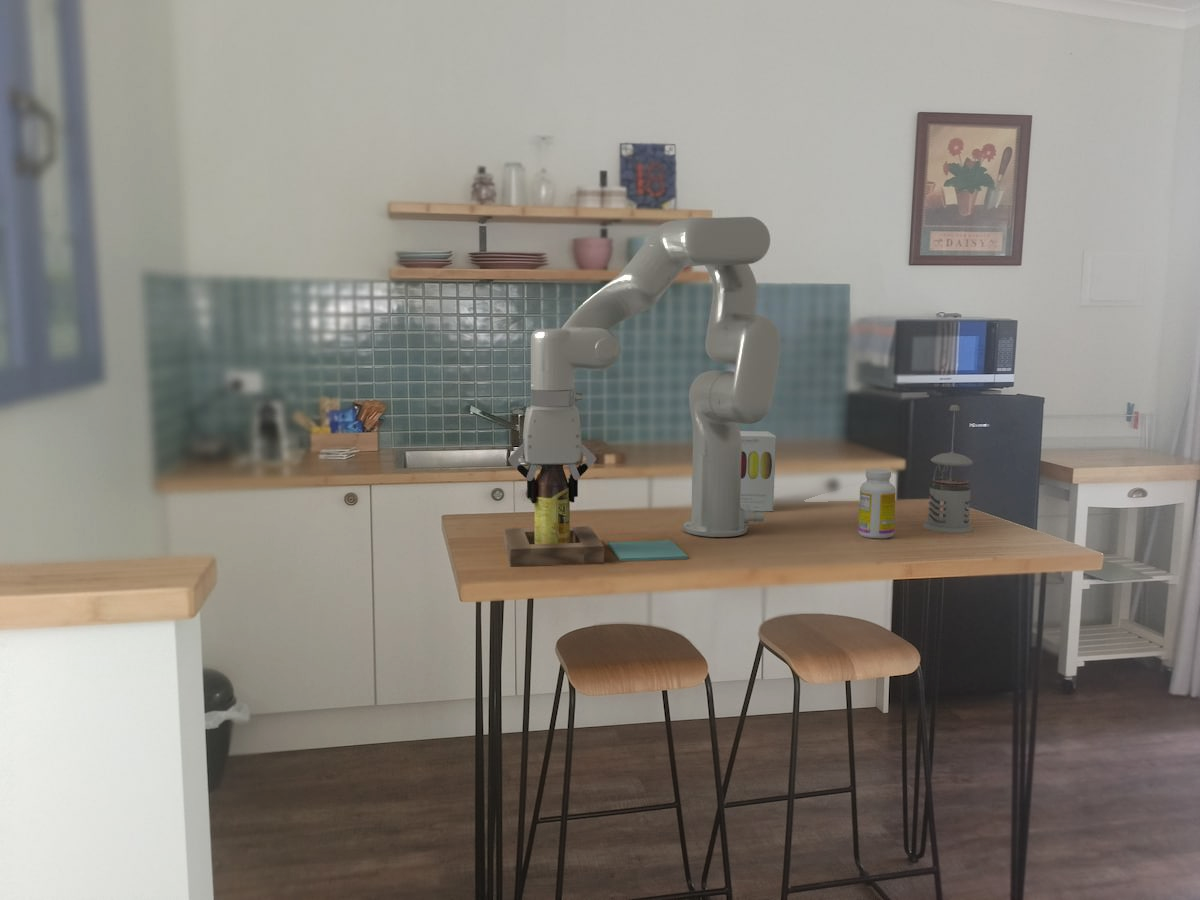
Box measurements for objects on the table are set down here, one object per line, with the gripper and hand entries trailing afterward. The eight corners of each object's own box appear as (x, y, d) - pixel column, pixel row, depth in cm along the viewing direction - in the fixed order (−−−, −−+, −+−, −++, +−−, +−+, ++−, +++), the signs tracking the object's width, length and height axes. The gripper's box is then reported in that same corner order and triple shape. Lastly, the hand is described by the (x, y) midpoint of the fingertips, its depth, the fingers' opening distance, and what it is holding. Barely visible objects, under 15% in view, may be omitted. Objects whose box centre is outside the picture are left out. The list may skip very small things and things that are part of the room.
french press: (932, 532, 193) (939, 406, 190) (912, 520, 205) (918, 401, 202) (981, 532, 194) (989, 407, 190) (958, 520, 205) (965, 401, 202)
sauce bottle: (565, 558, 171) (564, 445, 168) (530, 557, 172) (529, 444, 169) (573, 550, 177) (573, 441, 174) (540, 548, 178) (539, 440, 175)
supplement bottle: (896, 534, 192) (899, 469, 190) (890, 541, 186) (894, 474, 184) (861, 530, 195) (864, 466, 193) (855, 537, 189) (857, 471, 187)
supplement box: (730, 512, 213) (732, 435, 210) (724, 503, 222) (725, 430, 219) (774, 512, 213) (777, 435, 211) (766, 503, 222) (768, 430, 220)
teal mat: (671, 543, 183) (671, 540, 183) (687, 558, 171) (687, 556, 171) (608, 545, 181) (608, 542, 181) (620, 561, 169) (620, 558, 169)
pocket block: (589, 541, 184) (589, 526, 183) (604, 563, 168) (604, 546, 167) (504, 544, 181) (504, 528, 181) (510, 566, 165) (510, 549, 165)
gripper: (597, 397, 176) (597, 496, 178) (501, 398, 173) (502, 498, 175) (604, 401, 168) (604, 504, 171) (504, 402, 166) (504, 506, 168)
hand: (552, 500), depth 173 cm, fingers closed on sauce bottle, 6 cm apart
